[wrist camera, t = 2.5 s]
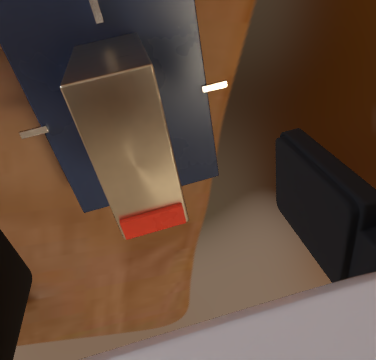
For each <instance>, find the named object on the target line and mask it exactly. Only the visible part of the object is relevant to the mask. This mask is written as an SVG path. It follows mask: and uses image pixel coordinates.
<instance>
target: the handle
mask: <svg viewBox="0 0 376 360" xmlns="http://www.w3.org/2000/svg"><path fill="white" fill-rule="evenodd" d="M60 89H61V92H62V94H63V96H64V99H65V101H66V104H67V106H68V108H69V111H70V113H71V115H72V118H73V120H74V122H75V125H76V127H77V130H78V132H79V134H80V137H81V139H82V141H83V144H84V146H85V148H86V151H87V153H88V156H89V158H90V160H91V163H92V165H93V167H94V170H95V172H96V174H97V177H98V179H99V182H100V184H101V186H102V189H103V191H104V193H105V196H106V198H107V200H108V203H109V205H110V207H111V210H112V212H113V215H114V217H115V219H116V222H117V224H118V226H119V229H120V231H121V233H122V236H123V238H124V239H126V240H128V239H131V238H135V237H138V236H142V235H145V234H149V233H152V232H156V231H159V230H163V229H166V228H170V227H173V226H177V225H180V224H184V223H186V222H187V221H189V218H188V213H187V209H186V205H185V201H184V196H183V192H182V188H181V183H180V179H179V175H178V171H177V166H176V162H175V158H174V153H173V149H172V145H171V140H170V136H169V132H168V128H167V123H166V119H165V115H164V110H163V106H162V102H161V98H160V93H159V89H158V85H157V80H156V76H155V72H154V68H153V64H152V62H151V60H150V59H149V57H148V55H147V53H146V51H145V49H144V47H143V45H142V43H141V41H140V39H139V37H138V35H137V33H131V34H126V35H122V36H118V37H113V38H109V39H105V40H100V41H96V42H92V43H88V44H83V45H79V46H75V47H74V48H73V51H72V54H71V57H70V60H69V62H68V65H67V68H66V71H65V73H64V76H63V79H62V82H61V85H60Z"/></svg>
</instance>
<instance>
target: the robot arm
mask: <svg viewBox="0 0 376 360" xmlns="http://www.w3.org/2000/svg"><path fill="white" fill-rule="evenodd" d="M276 201H277V206H278V208H279V210H280V212H281V213H282V214H283V216H284V217H285V219H286V220H287V221H288V223H289V224H290V225H291V227H292V228H293V229H294V231H295V232H296V234H297V235H298V236H299V238H300V239H301V240H302V242H303V243H304V245H305V246H306V247H307V249H308V250H309V251H310V253H311V254H312V256H313V257H314V258H315V260H316V261H317V263H318V264H319V265H320V267H321V268H322V269H323V271H324V272H325V273H326V275H327V276H328V278H329V279H330V280H331V282H332V283H330V284H327V285H324V286H320V287H316V288H313V289H309V290H306V291H302V292H299V293H295V294H292V295H289V296H286V297H282V298H279V299H276V300H272V301H269V302H266V303H262V304H259V305H256V306H253V307H249V308H246V309H243V310H239V311H236V312H232V313H229V314H226V315H223V316H219V317H216V318H213V319H209V320H206V321H203V322H200V323H196V324H193V325H190V326H187V327H183V328H180V329H177V330H173V331H170V332H167V333H164V334H160V335H158V336H154V337H151V338H147V339H144V340H141V341H138V342H135V343H131V344H128V345H125V346H122V347H118V348H115V349H112V350H109V351H105V352H102V353H99V354H96V355H92V356H89V357H86V358H83V359H80V360H376V189H375V188H373V187H372V186H371V185H370V184H368V183H367V182H366V181H365V180H363V179H362V178H361V177H360V176H358V175H357V174H356V173H354V172H353V171H352V170H351V169H350V168H348V167H347V166H346V165H345V164H343V163H342V162H341V161H340V160H339V159H337V158H336V157H335V156H334V155H332V154H331V153H330V152H329V151H327V150H326V149H325V148H323V147H322V146H321V145H320V144H319V143H317V142H316V141H315V140H314V139H312V138H311V137H310V136H309V135H307V134H306V133H305V132H304V131H303V130H301V129H299V128H297V129H293V130H290V131H286V132H282V133H281V135H280V138H277V139H276ZM31 283H32V274H31V271H30V270H29V268H28V267H27V265H26V264H25V263H24V261H23V260H22V259H21V257H20V256H19V254H18V253H17V252H16V250H15V249H14V248H13V246H12V245H11V243H10V242H9V241H8V239H7V238H6V236H5V235H4V234H3V232H2V231H1V230H0V360H13V357H14V353H15V349H16V345H17V341H18V337H19V333H20V329H21V324H22V320H23V316H24V312H25V308H26V304H27V300H28V296H29V292H30V288H31Z"/></svg>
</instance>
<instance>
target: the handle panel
mask: <svg viewBox="0 0 376 360" xmlns="http://www.w3.org/2000/svg"><path fill="white" fill-rule="evenodd" d="M131 33H137V35H138V37H139V39H140V41H141V43H142V45H143V47H144V49H145V51H146V53H147V55H148V57H149V59H150V60H151V62H152V64H153V68H154V72H155V76H156V80H157V85H158V89H159V93H160V98H161V102H162V106H163V110H164V115H165V119H166V123H167V128H168V132H169V136H170V140H171V145H172V149H173V153H174V158H175V162H176V166H177V171H178V175H179V179H180V183H181V186H183V185H187V184H190V183H194V182H197V181H201V180H205V179H208V178H212V177H216V176H218V175H219V173H218V166H217V158H216V151H215V144H214V137H213V130H212V122H211V115H210V108H209V101H208V94H207V92H209V91H213V90H217V89H221V88H225V87H227V81H226V80H223V81H220V82H216V83H212V84H208V85H206V79H205V72H204V65H203V58H202V51H201V43H200V36H199V29H198V22H197V15H196V7H195V0H0V44H1V47H2V49H3V51H4V53H5V55H6V57H7V59H8V61H9V63H10V65H11V67H12V69H13V71H14V73H15V75H16V77H17V79H18V81H19V83H20V85H21V87H22V89H23V91H24V93H25V95H26V97H27V99H28V101H29V103H30V105H31V107H32V109H33V111H34V113H35V115H36V117H37V119H38V121H39V123H40V125H41V126H40V127H36V128H32V129H28V130H24V131H20V132H19V134H20V136H21V138H22V139H24V138H28V137H32V136H36V135H40V134H44V133H45V135H46V137H47V139H48V141H49V143H50V145H51V147H52V149H53V151H54V153H55V155H56V157H57V159H58V161H59V163H60V165H61V167H62V169H63V171H64V173H65V175H66V177H67V179H68V181H69V183H70V186H71V188H72V190H73V192H74V194H75V196H76V198H77V200H78V202H79V204H80V206H81V208H82V210H83V212H84V213H85V212H89V211H93V210H96V209H100V208H104V207H107V206H110V205H109V203H108V200H107V198H106V196H105V193H104V191H103V189H102V186H101V184H100V182H99V179H98V177H97V174H96V172H95V170H94V167H93V165H92V163H91V160H90V158H89V156H88V153H87V151H86V148H85V146H84V144H83V141H82V139H81V137H80V134H79V132H78V130H77V127H76V125H75V122H74V120H73V118H72V115H71V113H70V111H69V108H68V106H67V104H66V101H65V99H64V96H63V94H62V92H61V89H60V85H61V82H62V79H63V76H64V73H65V71H66V68H67V65H68V62H69V60H70V57H71V54H72V51H73V48H74V47H75V46H79V45H83V44H88V43H92V42H96V41H100V40H105V39H109V38H113V37H118V36H122V35H126V34H131Z"/></svg>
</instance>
